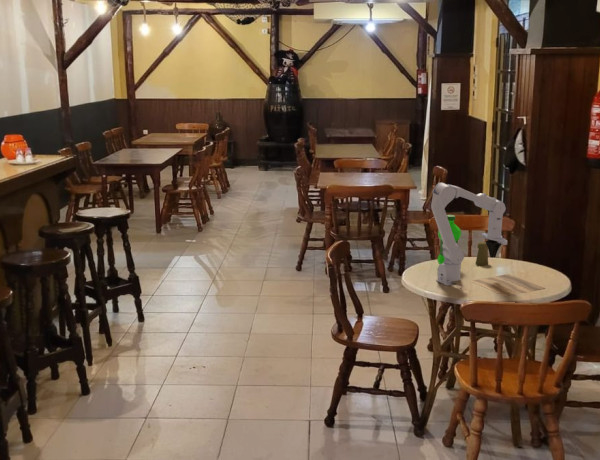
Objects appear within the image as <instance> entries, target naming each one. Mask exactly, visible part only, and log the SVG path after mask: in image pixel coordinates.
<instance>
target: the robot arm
mask: <svg viewBox="0 0 600 460" xmlns="http://www.w3.org/2000/svg"><path fill="white" fill-rule="evenodd" d="M431 192H432V197H431V198H432V199H431V204H430V208H431V211H432V214H433V218H434V221H435V223H436V226H437V229H438V231H439V232H440V235H441V238H442V241H443V244H442V247H443V256H444V257H445V260H444V263H442V264H439V265H438V266H437V279H436V280H435V281H437V282H438V283H441V284H443V285H445V286H451V285H457V283H455V282H458V281H460V280H461V271H462V262H463V261H464V257H465V255H464V251H462V250H461V249H460V246H459V244H458V245H457V243H456V242H455V239H454V236H453V233H452V230H451V227H450V224H449V221H448V218H447V215H448V214H447V211H446V209H445V208H446V207H447V206H448V205H449V203H451V202H452V201H454V199H458V198H459V197H461V198H464V199H467V200H469V201H471V202H473V203H474V205H475V206H476V207H479V208H481V209H484V210H486V211H488V213H489V214H488V222H487V223H488V225H487V233H486V232H483V233H481V234H480V235H481V236H480V238H482V239H486V241H485V242H486V244H487V246H488V249H487V250H488V255H489V257H490V258H492V259H493V258H496V256H497V254H498V250H499V249H500V247H501V246H507V245H508V239H506V238H503V235H502V229H503V216H504V213H505V212H506V209H507V207H506V205H505V202H503V201H501V200H499V199H497V198H496V197H495V196H494V197H493V196H492V197H491V196H489V195H488V194H487V193H484V192H483V193H481V192H480V193H477V194H475V193H473V192H471V191H468V190H466V189H464V188H462V187H459V186H458V185H452V184H449V183H447V184H446V182H438V183H437V184H435V186H434V188H433V189H432V190H431Z"/></svg>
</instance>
